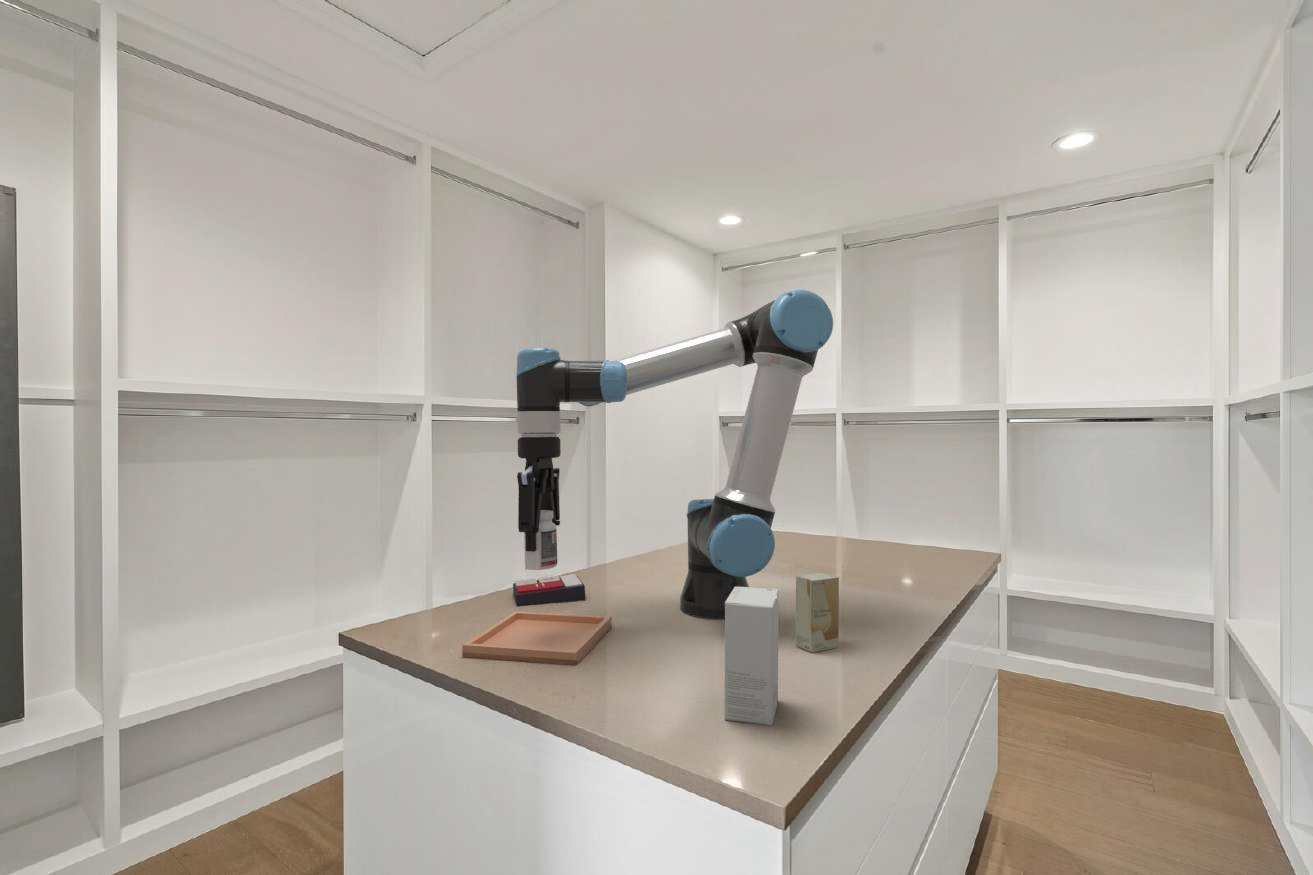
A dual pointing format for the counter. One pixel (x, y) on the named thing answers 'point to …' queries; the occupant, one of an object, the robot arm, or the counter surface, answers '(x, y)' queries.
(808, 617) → the skincare box
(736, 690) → the skincare box
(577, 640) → the tray
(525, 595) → the calculator
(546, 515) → the pill bottle
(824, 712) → the counter surface
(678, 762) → the counter surface
